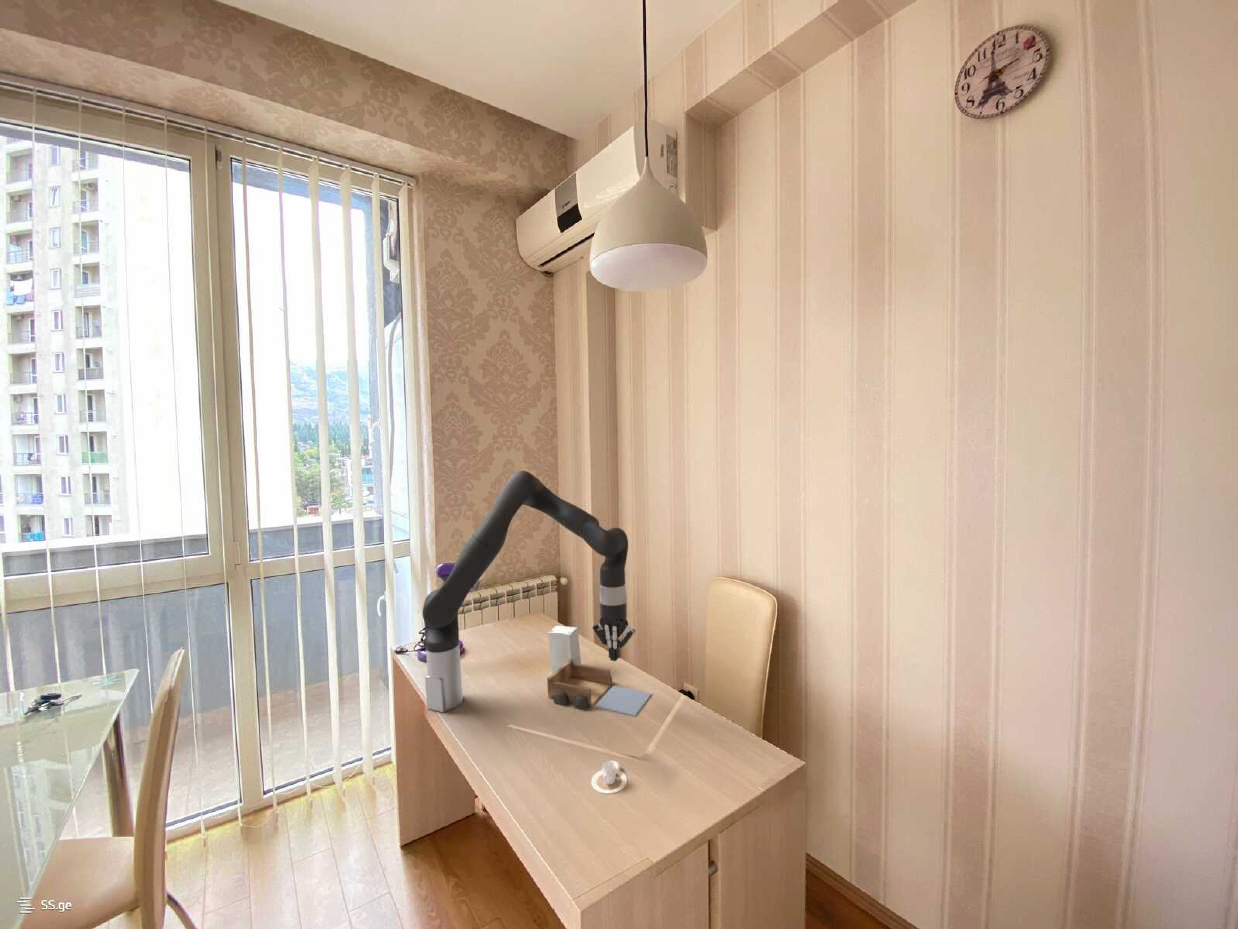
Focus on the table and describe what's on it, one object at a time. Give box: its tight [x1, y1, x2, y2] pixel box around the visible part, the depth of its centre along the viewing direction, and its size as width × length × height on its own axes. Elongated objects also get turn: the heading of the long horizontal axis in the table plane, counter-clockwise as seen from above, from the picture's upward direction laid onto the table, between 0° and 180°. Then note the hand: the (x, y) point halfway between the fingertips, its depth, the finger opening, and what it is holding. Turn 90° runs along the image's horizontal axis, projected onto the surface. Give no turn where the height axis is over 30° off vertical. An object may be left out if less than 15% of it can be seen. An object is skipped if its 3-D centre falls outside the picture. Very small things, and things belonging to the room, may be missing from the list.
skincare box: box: [547, 625, 582, 675], centre depth 163 cm, size 8×6×15 cm
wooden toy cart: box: [546, 659, 613, 711], centre depth 150 cm, size 16×14×7 cm
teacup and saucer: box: [590, 760, 628, 795], centre depth 113 cm, size 9×8×4 cm
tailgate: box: [595, 684, 652, 718], centre depth 144 cm, size 12×1×12 cm
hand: (614, 659), depth 143 cm, fingers closed
